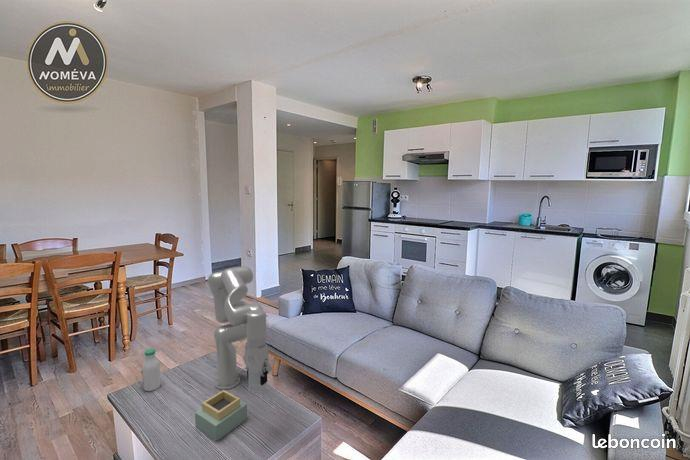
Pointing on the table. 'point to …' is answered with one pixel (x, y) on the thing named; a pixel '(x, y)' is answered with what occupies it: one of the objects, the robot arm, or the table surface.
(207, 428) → the green yellow rimmed box
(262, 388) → the skincare box
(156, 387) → the milk bottle
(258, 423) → the table surface
